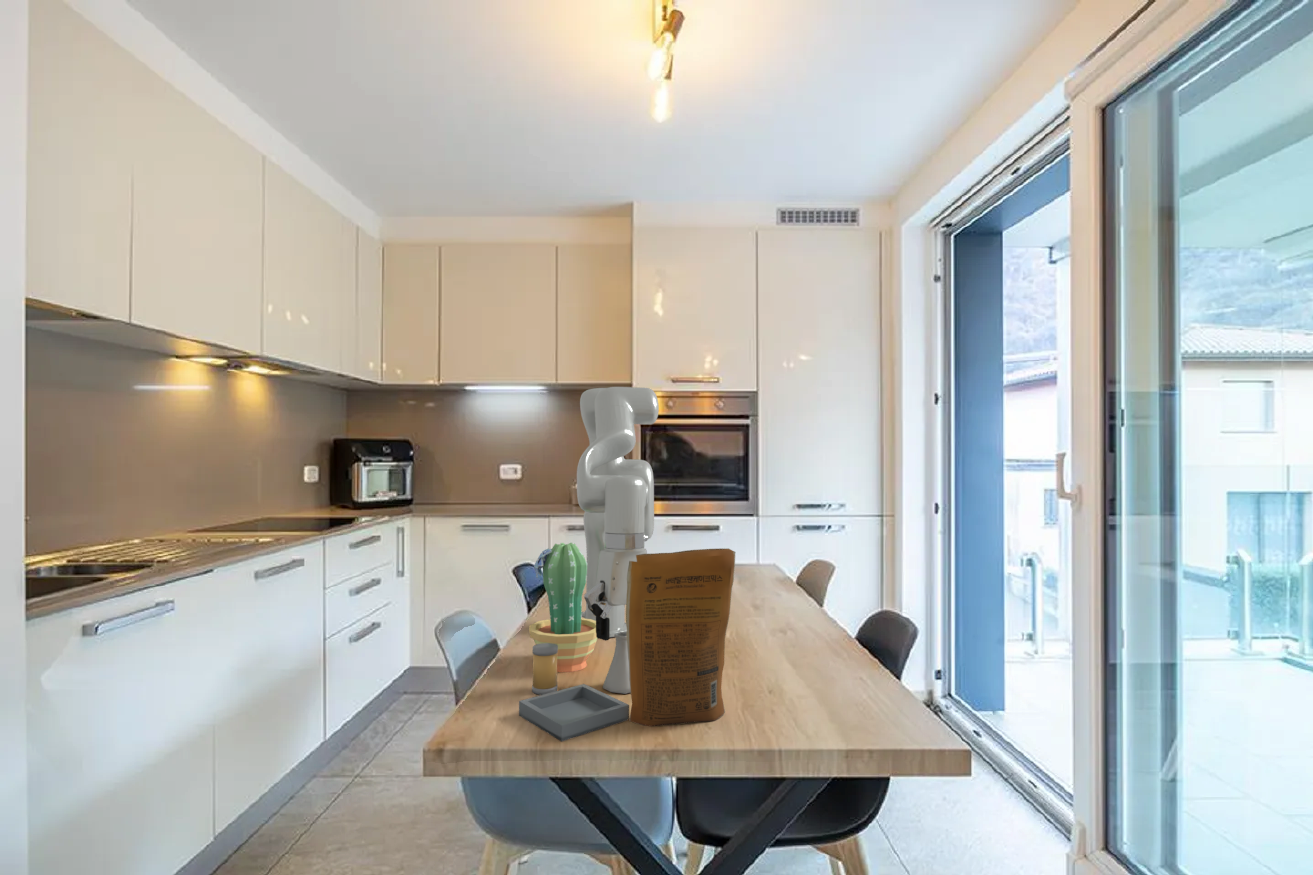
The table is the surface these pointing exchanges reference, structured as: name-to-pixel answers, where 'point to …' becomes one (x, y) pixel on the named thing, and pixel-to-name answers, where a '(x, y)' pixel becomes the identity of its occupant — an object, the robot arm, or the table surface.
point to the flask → (619, 667)
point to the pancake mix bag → (678, 634)
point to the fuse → (544, 668)
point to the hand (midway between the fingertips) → (623, 634)
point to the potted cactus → (565, 607)
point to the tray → (573, 711)
